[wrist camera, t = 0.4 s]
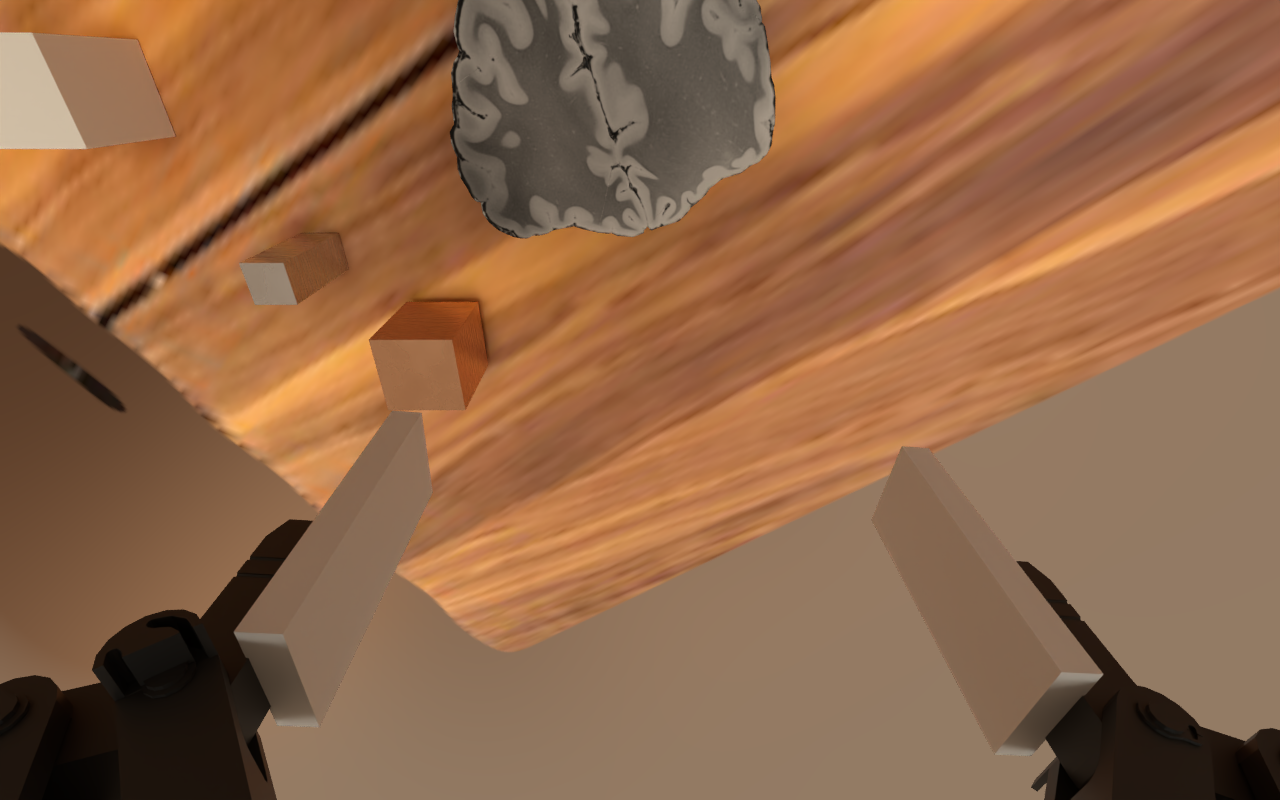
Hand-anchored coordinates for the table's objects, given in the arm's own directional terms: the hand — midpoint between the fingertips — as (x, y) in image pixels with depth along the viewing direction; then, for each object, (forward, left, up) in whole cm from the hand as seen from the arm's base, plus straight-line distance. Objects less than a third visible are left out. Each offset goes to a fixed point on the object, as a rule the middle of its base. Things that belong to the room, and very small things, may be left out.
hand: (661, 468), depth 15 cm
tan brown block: (+8, -15, -27) cm, 32 cm away
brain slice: (-8, -3, -27) cm, 29 cm away
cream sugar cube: (-8, -33, -27) cm, 43 cm away
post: (+2, -23, -27) cm, 35 cm away
